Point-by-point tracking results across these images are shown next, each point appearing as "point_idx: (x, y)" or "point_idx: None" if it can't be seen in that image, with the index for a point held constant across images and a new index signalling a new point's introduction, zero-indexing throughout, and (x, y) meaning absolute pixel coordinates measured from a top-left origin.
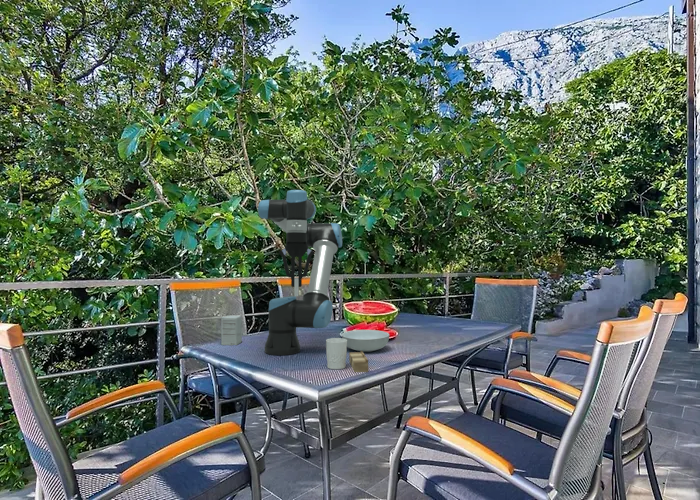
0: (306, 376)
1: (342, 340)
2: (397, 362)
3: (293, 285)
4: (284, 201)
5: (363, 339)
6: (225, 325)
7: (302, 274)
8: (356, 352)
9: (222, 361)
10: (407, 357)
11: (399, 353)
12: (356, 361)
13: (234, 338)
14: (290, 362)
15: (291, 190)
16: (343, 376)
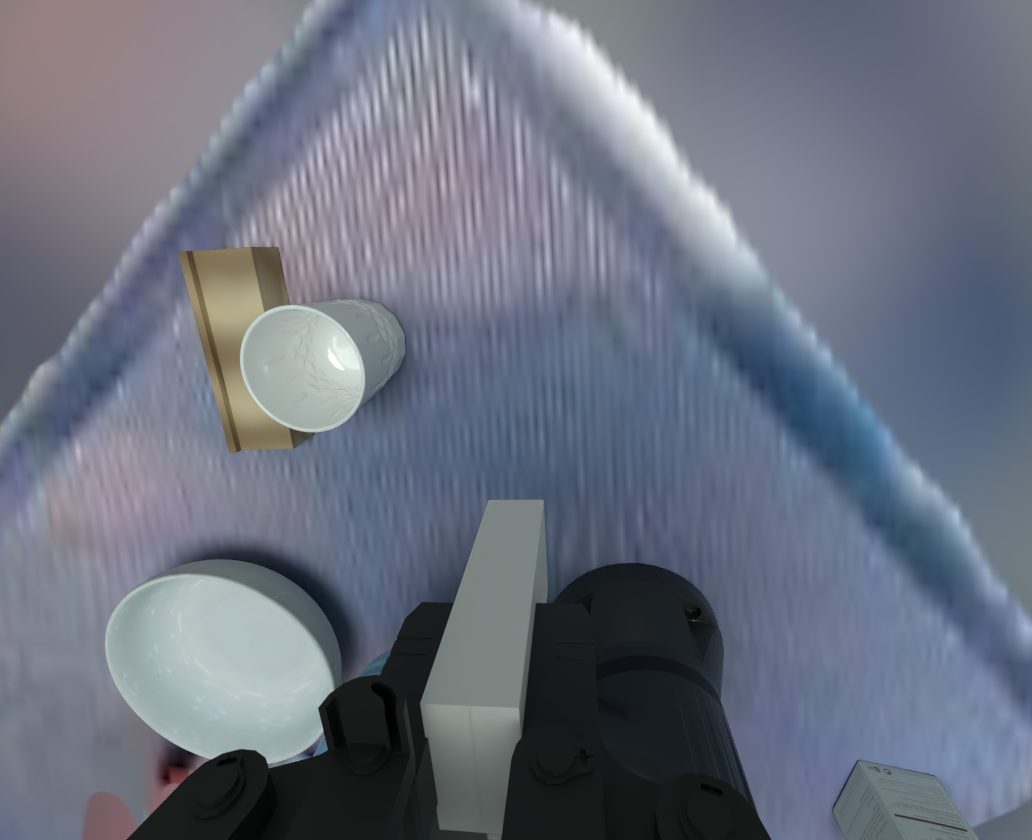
0: (496, 182)
1: (278, 410)
2: (108, 401)
3: (551, 619)
4: None
5: (216, 577)
6: None
7: (288, 832)
8: (259, 446)
9: (931, 487)
10: (77, 478)
11: (116, 545)
12: (241, 264)
13: (887, 794)
14: (585, 440)
15: None
16: (321, 175)
